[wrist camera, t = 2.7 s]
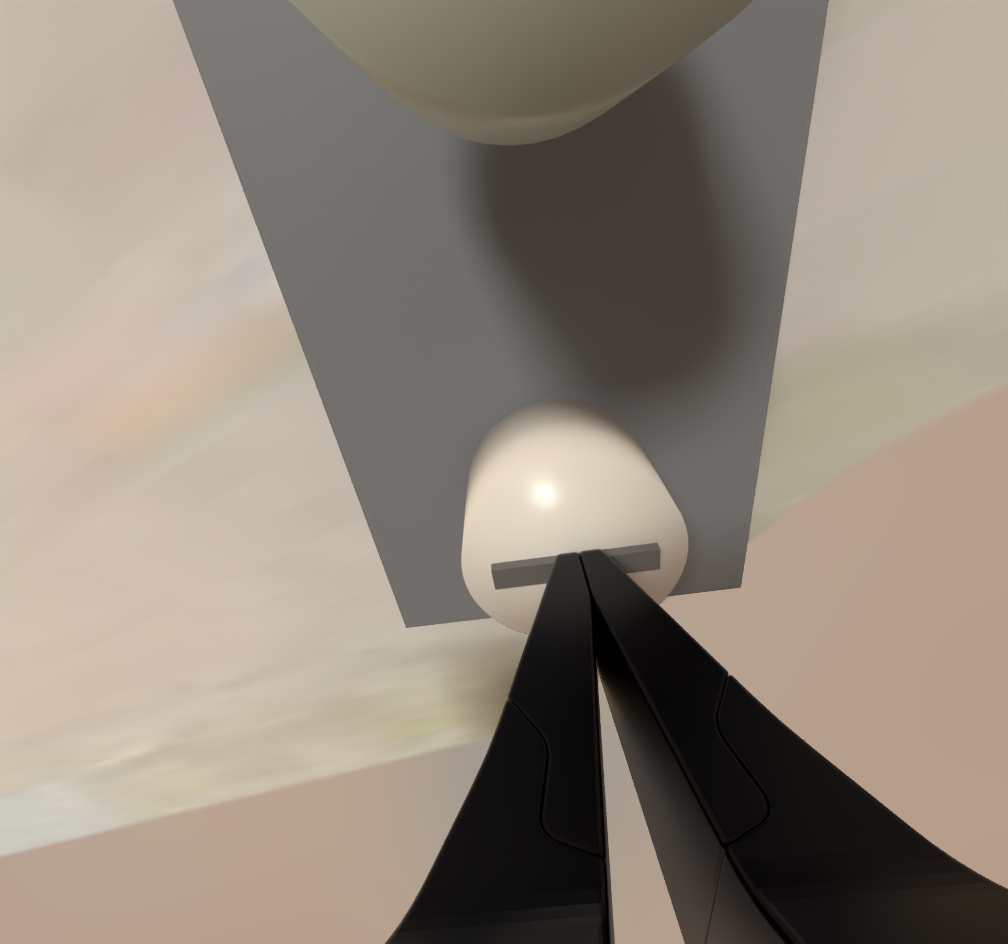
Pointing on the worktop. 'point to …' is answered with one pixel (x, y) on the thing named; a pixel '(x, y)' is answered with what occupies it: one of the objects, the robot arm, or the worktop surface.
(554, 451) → the knob
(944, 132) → the worktop surface
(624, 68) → the knob centre
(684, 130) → the knob mount
